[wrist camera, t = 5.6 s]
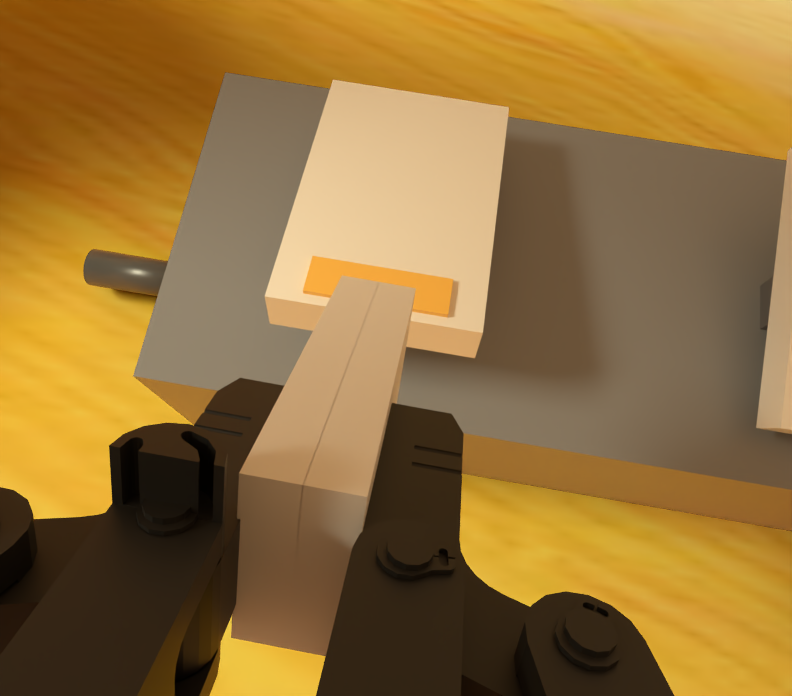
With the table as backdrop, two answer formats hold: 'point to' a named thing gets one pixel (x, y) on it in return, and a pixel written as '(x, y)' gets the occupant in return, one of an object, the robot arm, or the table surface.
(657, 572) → the table surface
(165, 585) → the robot arm
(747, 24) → the table surface
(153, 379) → the rocker switch box
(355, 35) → the table surface
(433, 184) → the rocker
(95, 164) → the table surface
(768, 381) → the rocker
